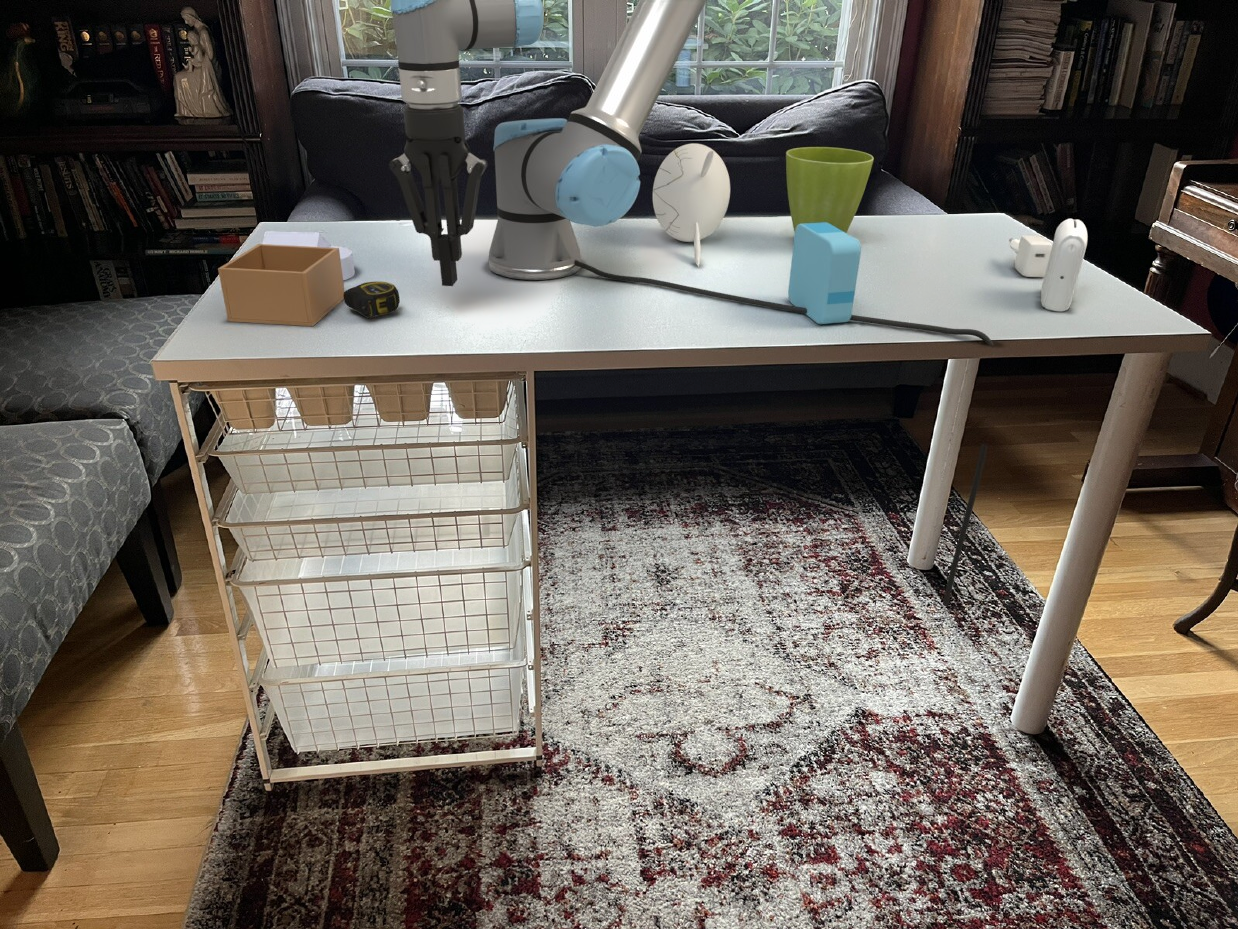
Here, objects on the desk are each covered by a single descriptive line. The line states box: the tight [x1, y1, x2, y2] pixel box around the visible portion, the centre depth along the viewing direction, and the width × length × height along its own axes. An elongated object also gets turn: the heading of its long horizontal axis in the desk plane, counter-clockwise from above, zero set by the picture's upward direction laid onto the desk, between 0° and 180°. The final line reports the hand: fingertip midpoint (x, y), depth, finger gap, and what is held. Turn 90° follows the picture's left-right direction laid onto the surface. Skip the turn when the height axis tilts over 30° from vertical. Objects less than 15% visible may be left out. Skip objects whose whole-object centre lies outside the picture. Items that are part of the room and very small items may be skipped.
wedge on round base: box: [261, 230, 356, 281], centre depth 145 cm, size 9×7×13 cm
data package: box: [787, 222, 862, 325], centre depth 132 cm, size 12×4×12 cm, turn 15°
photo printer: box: [1040, 218, 1088, 312], centre depth 139 cm, size 10×4×12 cm, turn 158°
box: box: [217, 243, 346, 327], centre depth 130 cm, size 12×12×8 cm
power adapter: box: [1008, 234, 1053, 278], centre depth 155 cm, size 11×5×6 cm, turn 176°
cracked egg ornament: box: [652, 143, 731, 268], centre depth 161 cm, size 19×14×25 cm
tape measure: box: [343, 281, 401, 319], centre depth 130 cm, size 7×7×4 cm
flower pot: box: [785, 146, 875, 234], centre depth 162 cm, size 15×15×16 cm
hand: (449, 282), depth 129 cm, fingers closed
